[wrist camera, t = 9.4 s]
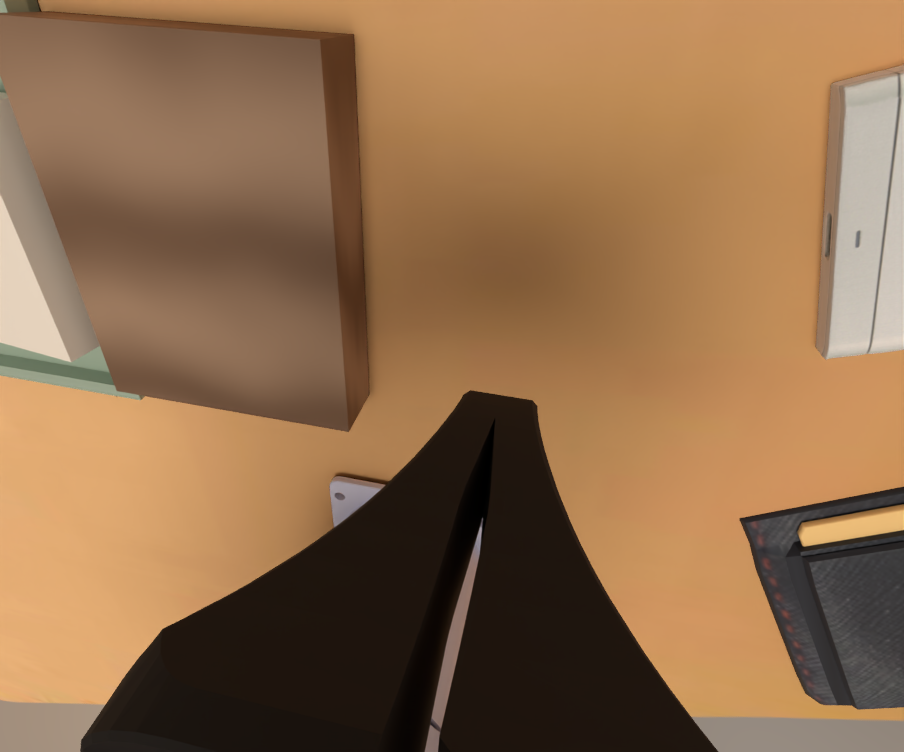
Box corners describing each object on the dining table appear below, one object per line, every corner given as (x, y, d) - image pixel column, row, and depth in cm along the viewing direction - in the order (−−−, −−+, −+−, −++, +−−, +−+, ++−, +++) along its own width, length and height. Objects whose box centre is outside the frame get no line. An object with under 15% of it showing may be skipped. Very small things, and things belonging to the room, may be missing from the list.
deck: (369, 394, 23) (348, 431, 21) (154, 358, 25) (116, 391, 23) (353, 34, 16) (319, 39, 14) (48, 11, 17) (-24, 13, 15)
